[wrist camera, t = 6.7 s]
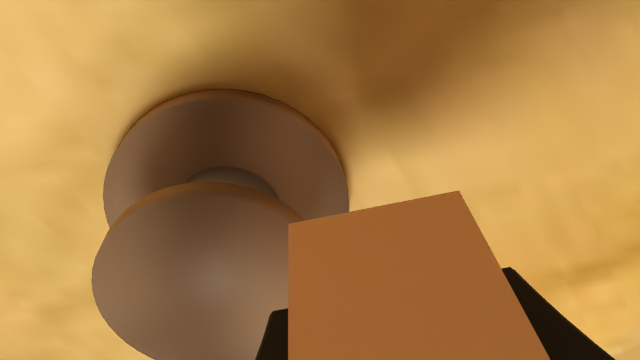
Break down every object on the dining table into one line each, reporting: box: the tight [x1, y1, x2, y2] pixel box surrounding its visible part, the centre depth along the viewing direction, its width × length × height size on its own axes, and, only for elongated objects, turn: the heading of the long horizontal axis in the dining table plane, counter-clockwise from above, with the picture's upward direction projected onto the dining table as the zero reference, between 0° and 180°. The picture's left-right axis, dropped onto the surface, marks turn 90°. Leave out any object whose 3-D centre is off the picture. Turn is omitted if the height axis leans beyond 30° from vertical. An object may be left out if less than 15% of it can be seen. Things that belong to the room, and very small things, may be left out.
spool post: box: [92, 89, 349, 360], centre depth 17 cm, size 9×9×5 cm
